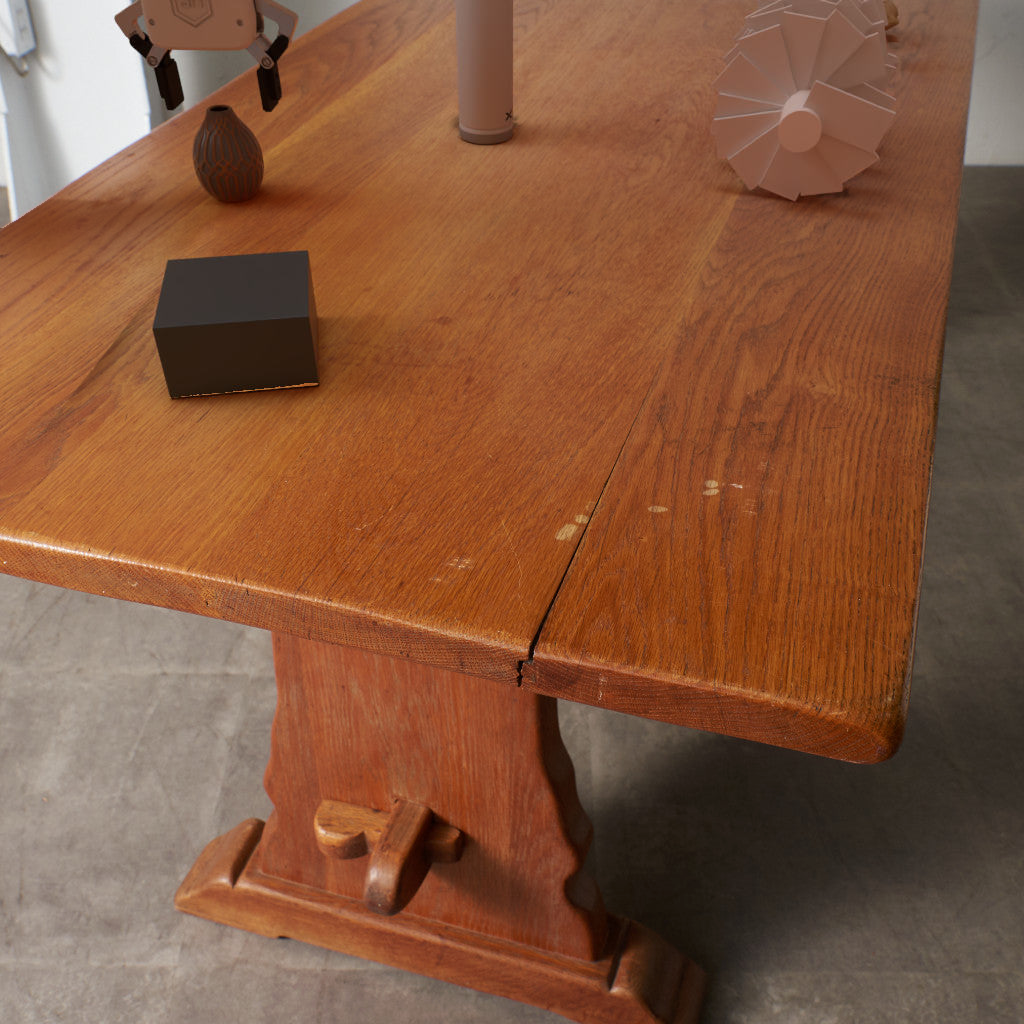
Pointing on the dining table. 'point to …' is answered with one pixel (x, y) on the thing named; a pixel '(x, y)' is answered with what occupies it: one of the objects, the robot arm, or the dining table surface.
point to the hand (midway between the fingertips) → (223, 106)
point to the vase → (227, 156)
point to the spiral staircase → (805, 95)
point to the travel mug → (485, 70)
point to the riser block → (237, 323)
